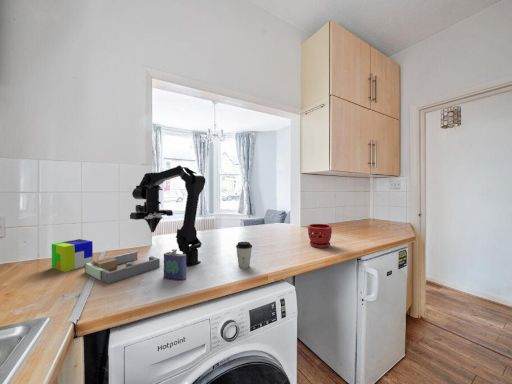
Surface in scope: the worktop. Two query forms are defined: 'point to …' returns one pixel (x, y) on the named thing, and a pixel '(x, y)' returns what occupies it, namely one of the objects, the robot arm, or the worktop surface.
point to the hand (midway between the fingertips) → (152, 232)
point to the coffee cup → (244, 254)
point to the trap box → (124, 272)
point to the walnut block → (106, 264)
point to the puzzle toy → (71, 254)
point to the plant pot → (319, 235)
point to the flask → (174, 266)
